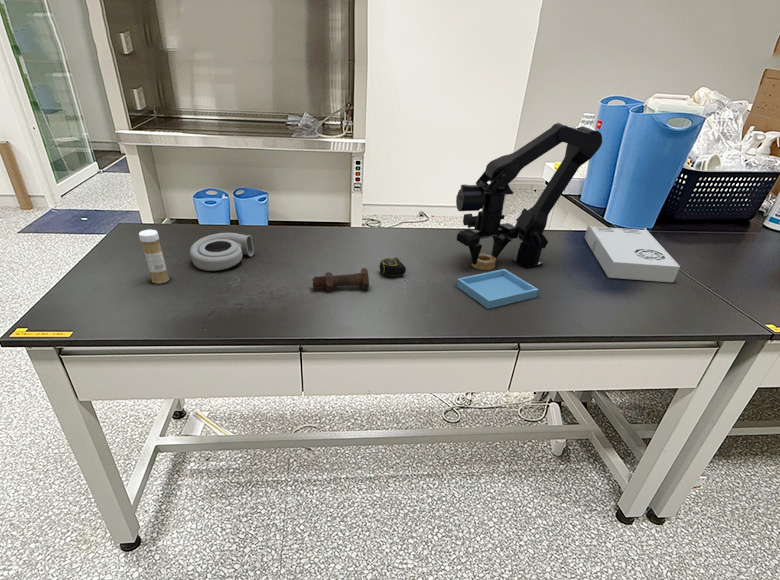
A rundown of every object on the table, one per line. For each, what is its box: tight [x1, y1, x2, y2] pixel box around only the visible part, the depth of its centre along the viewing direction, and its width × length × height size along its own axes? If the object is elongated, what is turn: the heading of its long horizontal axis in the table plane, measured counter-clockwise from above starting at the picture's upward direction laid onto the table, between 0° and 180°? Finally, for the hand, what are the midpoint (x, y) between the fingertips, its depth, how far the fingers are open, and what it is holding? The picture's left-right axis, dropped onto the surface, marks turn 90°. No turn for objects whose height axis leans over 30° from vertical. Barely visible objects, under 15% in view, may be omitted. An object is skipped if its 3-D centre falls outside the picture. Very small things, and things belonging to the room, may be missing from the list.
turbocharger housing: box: [189, 232, 255, 272], centre depth 146 cm, size 17×6×15 cm
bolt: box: [311, 267, 370, 292], centre depth 134 cm, size 6×5×15 cm
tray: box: [455, 268, 539, 310], centre depth 137 cm, size 17×15×2 cm
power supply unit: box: [584, 224, 681, 283], centre depth 158 cm, size 19×33×5 cm, turn 174°
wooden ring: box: [471, 253, 497, 271], centre depth 151 cm, size 7×7×2 cm
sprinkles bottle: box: [138, 229, 170, 285], centre depth 132 cm, size 5×5×14 cm
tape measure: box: [379, 257, 407, 277], centre depth 143 cm, size 7×7×4 cm
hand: (483, 262), depth 151 cm, fingers closed on wooden ring, 7 cm apart
